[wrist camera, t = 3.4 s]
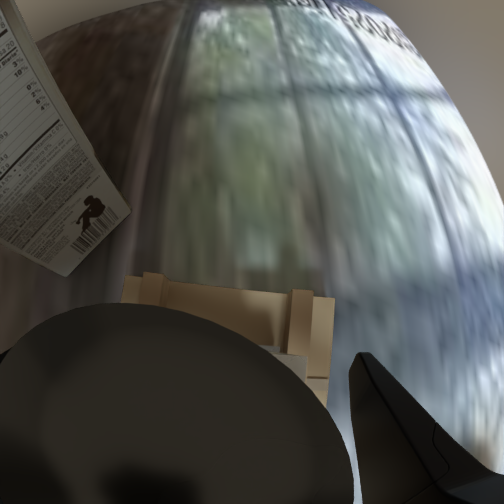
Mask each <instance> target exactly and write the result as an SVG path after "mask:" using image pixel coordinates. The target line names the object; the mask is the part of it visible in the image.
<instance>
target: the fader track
mask: <svg viewBox="0 0 504 504" xmlns="http://www.w3.org/2000/svg"><path fill="white" fill-rule="evenodd" d="M121 303H135V304H146V305H156V306H160V307H165V308H170V309H174V310H179V311H183V312H186V313H189V314H192V315H195V316H198V317H201V318H204V319H207V320H210V321H213V322H215V323H217V324H219V325H221V326H223V327H225V328H228V329H230V330H232V331H234V332H236V333H238V334H241V335H242V336H244V337H245V338H247V339H249V340H250V341H252V342H254V343H255V344H257V345H265V346H277V347H280V352H279V353H285V354H293V355H300V356H308V357H307V368H306V378H305V384H306V385H307V386H308V387H309V388H310V389H311V390H312V391H313V392H314V394H315V395H316V396H317V398H318V399H319V400H320V402H321V403H322V404H323V405H324V407H325V408H326V402H327V393H328V384H329V374H330V363H331V351H332V338H333V323H334V305H335V298H326V297H314V291H312V290H301V289H292V290H291V291H290V292H289V293H288V294H282V293H272V292H262V291H252V290H243V289H234V288H225V287H216V286H208V285H199V284H191V283H183V282H175V281H170V280H169V279H168V278H167V277H166V276H165V275H164V274H158V273H150V272H144V273H143V277H138V276H130V275H125V280H124V285H123V291H122V297H121Z"/></svg>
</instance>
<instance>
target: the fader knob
mask: <svg viewBox="0 0 504 504" xmlns="http://www.w3.org/2000/svg"><path fill="white" fill-rule="evenodd" d="M279 352H280V347H277V346H265V345H257V344H255V343H254V342H252V341H250V340H249V339H247V338H245V337H244V336H242V335H241V334H238V333H236V332H234V331H232V330H230V329H228V328H225V327H223V326H221V325H219V324H217V323H215V322H213V321H210V320H207V319H204V318H201V317H198V316H195V315H192V314H189V313H186V312H183V311H179V310H174V309H170V308H165V307H160V306H156V305H146V304H135V303H108V304H96V305H91V306H86V307H80V308H76V309H73V310H70V311H67V312H64V313H61V314H59V315H56V316H54V317H52V318H50V319H48V320H46V321H44V322H43V323H41V324H39V325H37V326H36V327H34V328H33V329H32V330H30V331H29V332H28V333H27V334H25V335H24V336H23V337H22V338H20V339H19V341H18V342H17V343H16V344H15V345H14V346H13V347H12V348H11V349H10V351H9V352H8V353H7V354H6V356H5V358H4V359H3V361H2V362H1V364H0V498H1V500H2V502H3V503H4V504H353V502H354V478H353V473H352V467H351V462H350V457H349V454H348V452H347V449H346V446H345V443H344V441H343V438H342V435H341V433H340V431H339V430H338V428H337V426H336V424H335V423H334V421H333V419H332V417H331V415H330V414H329V412H328V411H327V409H326V408H325V407H324V405H323V404H322V403H321V402H320V400H319V399H318V398H317V396H316V395H315V394H314V392H313V391H312V390H311V389H310V388H309V387H308V386H307V385H306V384H305V378H306V368H307V357H308V356H300V355H293V354H285V353H279Z"/></svg>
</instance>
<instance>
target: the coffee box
mask: <svg viewBox="0 0 504 504" xmlns="http://www.w3.org/2000/svg"><path fill="white" fill-rule="evenodd" d="M130 213H131V206H130V205H129V203H128V202H127V200H126V199H125V197H124V196H123V194H122V193H121V191H120V190H119V188H118V187H117V185H116V184H115V182H114V181H113V179H112V178H111V176H110V174H109V173H108V171H107V170H106V168H105V167H104V165H103V163H102V162H101V160H100V158H99V157H98V155H97V154H96V152H95V150H94V149H93V147H92V145H91V143H90V142H89V140H88V139H87V137H86V135H85V134H84V132H83V130H82V129H81V127H80V125H79V123H78V122H77V120H76V118H75V117H74V115H73V113H72V111H71V110H70V108H69V106H68V104H67V102H66V101H65V99H64V97H63V95H62V94H61V92H60V90H59V88H58V86H57V84H56V82H55V81H54V79H53V77H52V75H51V73H50V71H49V69H48V67H47V65H46V64H45V62H44V60H43V58H42V56H41V54H40V52H39V50H38V48H37V46H36V44H35V42H34V40H33V38H32V36H31V34H30V32H29V30H28V28H27V26H26V24H25V22H24V20H23V17H22V15H21V13H20V11H19V9H18V7H17V5H16V3H15V1H14V0H0V244H2V245H3V246H5V247H7V248H9V249H11V250H13V251H14V252H16V253H18V254H20V255H22V256H24V257H25V258H27V259H29V260H31V261H33V262H35V263H37V264H39V265H41V266H43V267H45V268H46V269H49V270H51V271H53V272H55V273H57V274H59V275H61V276H63V277H67V276H68V275H69V274H70V273H71V272H72V271H73V270H74V269H75V268H76V267H77V266H78V265H79V264H80V263H81V261H82V260H83V259H84V258H85V257H86V256H87V255H88V254H89V253H90V252H91V251H92V250H93V249H94V248H95V247H96V246H97V245H98V244H99V243H100V242H101V241H102V240H103V239H104V238H105V237H106V236H107V235H108V234H109V233H110V232H111V231H112V230H113V229H114V228H115V227H116V226H117V225H118V224H119V223H120V222H122V221H123V220H124V219H125V218H126V217H127V216H128V215H129V214H130Z"/></svg>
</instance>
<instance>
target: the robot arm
mask: <svg viewBox="0 0 504 504" xmlns="http://www.w3.org/2000/svg"><path fill="white" fill-rule="evenodd" d="M10 349H11V348H10ZM10 349H8V350H7V351H5V352H4V353H2V354H0V364H1V362H2V361H3V359H4V358H5V356H6V354H7V353H8V352H9V351H10ZM349 391H350V411H351V421H352V427H353V434H354V440H355V447H356V454H357V461H358V468H359V476H360V484H361V492H362V501H363V504H504V475H502V474H498V473H495V472H493V471H491V470H489V469H487V468H486V467H485V466H484V465H482V464H481V463H480V462H479V461H478V460H477V459H475V458H474V457H473V456H472V455H471V454H470V453H469V452H467V451H466V450H465V449H464V448H463V447H462V446H461V445H459V444H458V443H457V442H456V441H455V440H454V439H453V438H452V437H451V436H450V435H449V434H448V433H447V432H446V431H445V430H444V429H443V428H442V427H441V426H440V425H439V424H438V423H437V422H436V421H435V420H434V419H433V418H432V416H431V415H430V414H429V413H428V412H427V411H426V410H425V409H424V408H423V407H422V406H421V405H420V404H419V403H418V402H417V401H416V400H415V399H414V398H413V396H412V395H411V394H410V393H409V392H408V391H407V390H406V389H405V388H404V387H403V386H402V385H401V384H400V383H399V382H398V381H397V380H396V379H395V378H394V377H393V376H392V375H391V374H390V372H389V371H388V370H387V369H386V368H385V367H384V366H383V365H382V364H381V363H380V362H379V361H378V360H377V359H376V358H375V357H374V356H373V355H372V354H371V353H369V352H359V353H357V354H356V356H355V358H354V361H353V363H352V365H351V367H350V370H349ZM435 422H436V423H435ZM0 504H4V503H3V502H2V500H1V498H0Z"/></svg>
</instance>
